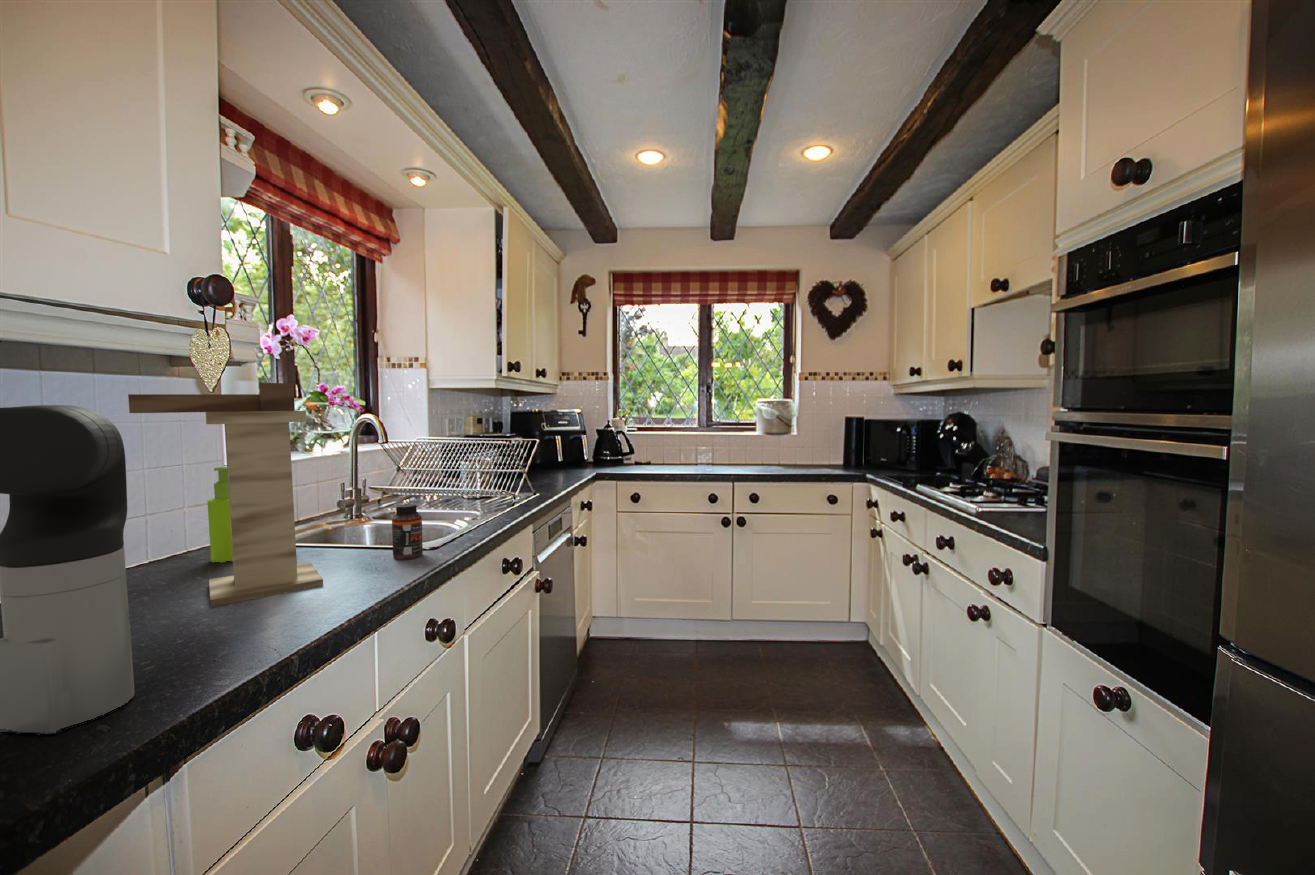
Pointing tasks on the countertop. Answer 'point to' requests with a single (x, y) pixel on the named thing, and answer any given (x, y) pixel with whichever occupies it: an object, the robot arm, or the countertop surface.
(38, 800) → the countertop surface
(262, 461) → the oak stand
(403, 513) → the supplement bottle
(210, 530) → the soap dispenser
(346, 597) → the countertop surface
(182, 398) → the walnut bar
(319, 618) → the countertop surface
